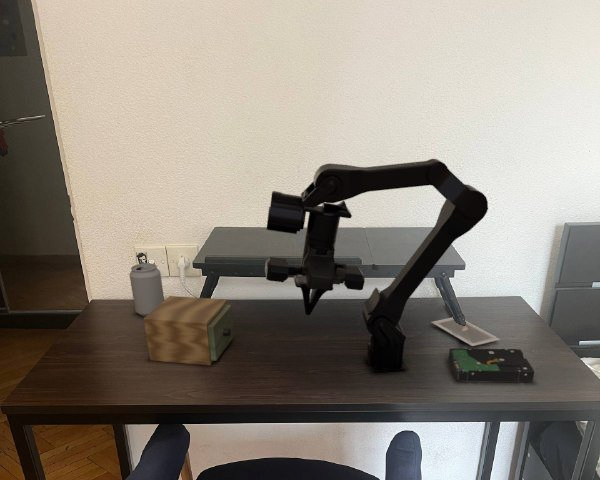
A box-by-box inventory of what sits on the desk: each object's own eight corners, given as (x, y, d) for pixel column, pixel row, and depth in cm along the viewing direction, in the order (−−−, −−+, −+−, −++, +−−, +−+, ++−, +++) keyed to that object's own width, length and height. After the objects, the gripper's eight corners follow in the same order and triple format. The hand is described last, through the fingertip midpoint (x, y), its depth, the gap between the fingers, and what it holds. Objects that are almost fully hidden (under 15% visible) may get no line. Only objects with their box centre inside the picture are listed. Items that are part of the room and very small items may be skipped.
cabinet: (230, 339, 133) (226, 299, 128) (210, 365, 122) (206, 323, 117) (174, 334, 136) (169, 295, 131) (150, 360, 124) (143, 318, 119)
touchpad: (456, 320, 141) (457, 312, 140) (499, 343, 129) (501, 334, 128) (430, 326, 138) (431, 317, 137) (471, 350, 126) (473, 341, 125)
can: (142, 306, 152) (135, 261, 146) (169, 307, 151) (163, 262, 145) (131, 316, 145) (123, 270, 139) (159, 318, 144) (153, 271, 138)
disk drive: (517, 360, 122) (447, 359, 123) (520, 348, 121) (448, 347, 121) (533, 384, 113) (456, 382, 114) (535, 371, 112) (458, 370, 112)
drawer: (239, 337, 132) (236, 305, 128) (221, 361, 121) (218, 327, 117) (182, 333, 134) (178, 301, 130) (160, 356, 124) (155, 322, 120)
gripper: (273, 246, 99) (263, 328, 107) (378, 258, 102) (360, 336, 110) (269, 226, 108) (260, 303, 116) (366, 237, 111) (350, 312, 120)
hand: (307, 314), depth 115 cm, fingers closed
